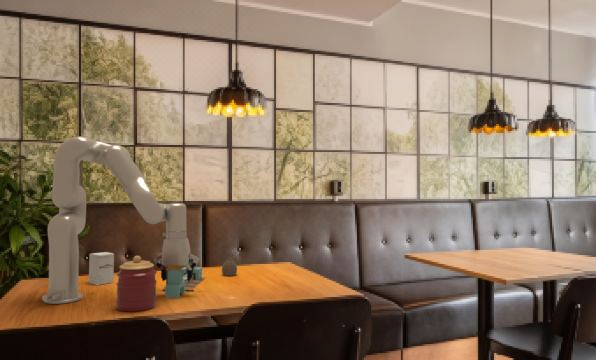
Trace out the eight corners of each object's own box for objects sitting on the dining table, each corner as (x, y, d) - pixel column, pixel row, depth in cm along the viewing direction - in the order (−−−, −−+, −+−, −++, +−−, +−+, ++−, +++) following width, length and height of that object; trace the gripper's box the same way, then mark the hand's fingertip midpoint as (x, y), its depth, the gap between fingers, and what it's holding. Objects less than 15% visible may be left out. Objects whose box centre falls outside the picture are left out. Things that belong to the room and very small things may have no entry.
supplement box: (97, 285, 183) (97, 255, 183) (88, 283, 187) (88, 253, 187) (114, 282, 189) (114, 253, 189) (104, 280, 193) (105, 251, 193)
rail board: (192, 291, 174) (192, 282, 174) (162, 290, 175) (162, 282, 175) (206, 279, 196) (206, 271, 196) (180, 279, 197) (180, 271, 197)
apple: (165, 274, 207) (165, 255, 207) (184, 272, 211) (185, 254, 211) (168, 278, 199) (168, 258, 199) (188, 276, 203) (188, 257, 203)
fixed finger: (201, 277, 196) (202, 256, 196) (198, 280, 190) (198, 258, 190) (184, 277, 196) (184, 255, 196) (180, 279, 190) (180, 257, 191)
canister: (160, 301, 158) (161, 252, 159) (149, 312, 145) (150, 258, 146) (124, 301, 158) (124, 252, 158) (110, 312, 145) (110, 258, 145)
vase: (238, 276, 205) (238, 257, 205) (234, 279, 198) (235, 259, 198) (224, 275, 205) (224, 256, 206) (219, 278, 199) (220, 259, 199)
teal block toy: (178, 297, 164) (178, 272, 164) (163, 297, 164) (164, 272, 165) (184, 292, 172) (185, 268, 172) (170, 292, 172) (171, 268, 173)
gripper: (150, 236, 165) (151, 282, 165) (196, 236, 164) (196, 282, 164) (157, 234, 173) (158, 278, 173) (201, 234, 172) (201, 278, 172)
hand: (176, 280), depth 168 cm, fingers open, 9 cm apart
